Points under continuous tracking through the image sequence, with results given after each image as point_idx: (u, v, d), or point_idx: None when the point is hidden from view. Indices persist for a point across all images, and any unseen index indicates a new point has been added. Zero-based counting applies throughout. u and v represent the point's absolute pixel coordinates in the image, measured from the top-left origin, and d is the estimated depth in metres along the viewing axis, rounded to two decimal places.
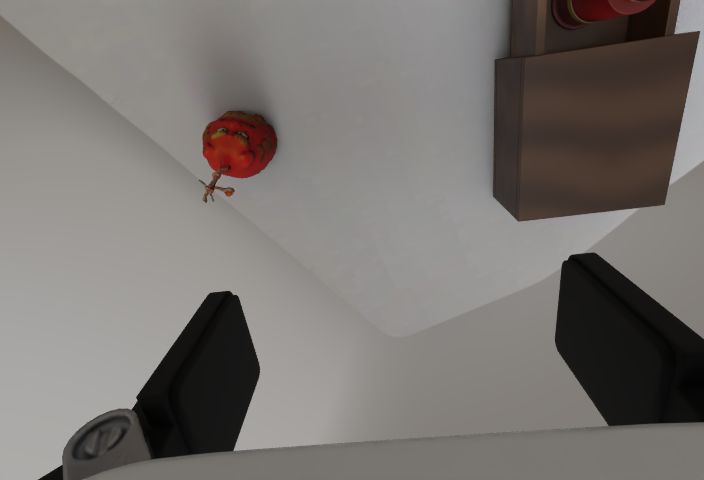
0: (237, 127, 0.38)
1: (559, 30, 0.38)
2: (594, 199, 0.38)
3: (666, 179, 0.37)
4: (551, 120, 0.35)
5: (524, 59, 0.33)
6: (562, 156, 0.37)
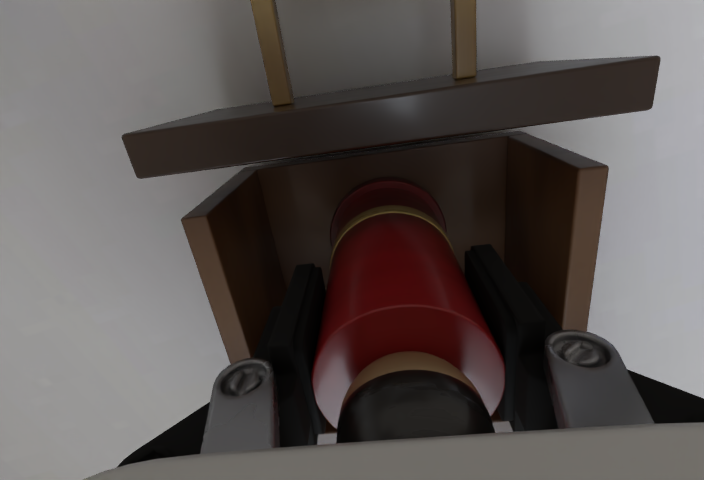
0: None
1: None
2: None
3: None
4: None
5: None
6: None
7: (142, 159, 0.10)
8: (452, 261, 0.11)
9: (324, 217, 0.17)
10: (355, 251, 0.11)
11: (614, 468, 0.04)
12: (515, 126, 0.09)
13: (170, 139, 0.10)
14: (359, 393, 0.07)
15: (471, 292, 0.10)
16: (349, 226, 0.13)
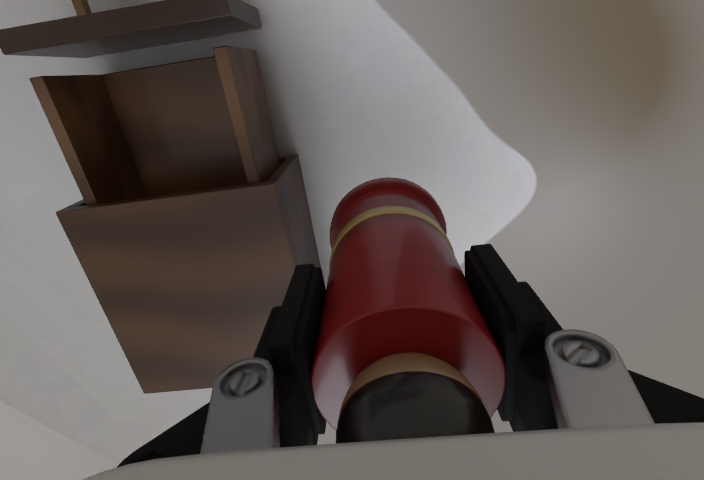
0: None
1: (178, 150, 0.29)
2: None
3: None
4: (128, 285, 0.26)
5: (57, 215, 0.24)
6: (163, 324, 0.27)
7: (4, 43, 0.21)
8: (452, 262, 0.11)
9: (147, 106, 0.28)
10: (355, 252, 0.11)
11: (614, 468, 0.04)
12: (172, 24, 0.20)
13: (15, 32, 0.21)
14: (359, 395, 0.07)
15: (471, 293, 0.10)
16: (349, 227, 0.13)
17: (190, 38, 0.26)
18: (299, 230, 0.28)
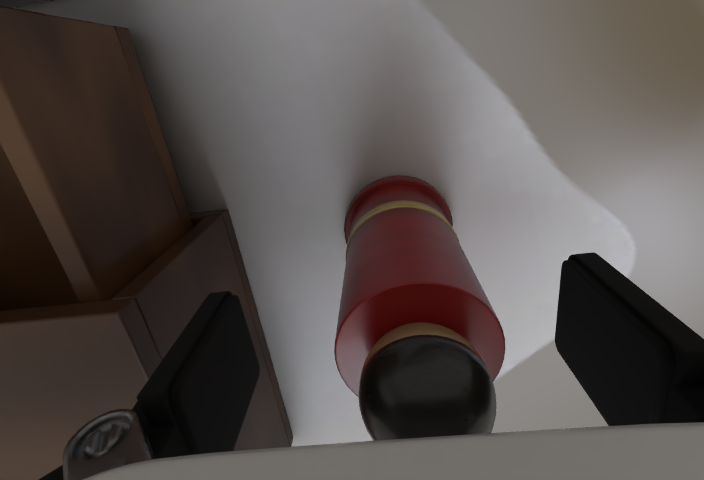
0: None
1: (10, 207, 0.16)
2: None
3: None
4: None
5: None
6: None
7: None
8: (458, 249, 0.12)
9: None
10: (371, 240, 0.12)
11: (613, 468, 0.04)
12: None
13: None
14: (379, 354, 0.08)
15: (475, 276, 0.11)
16: (364, 219, 0.14)
17: None
18: None
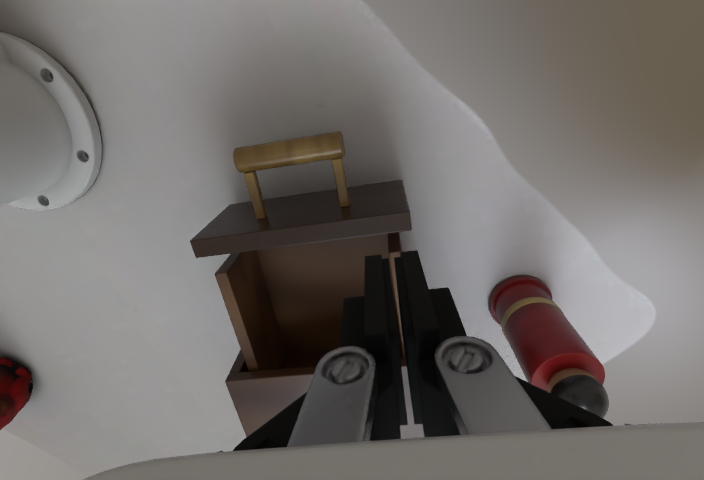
0: None
1: (315, 297, 0.31)
2: None
3: None
4: None
5: None
6: None
7: (198, 250, 0.23)
8: (574, 329, 0.26)
9: (291, 262, 0.29)
10: (532, 324, 0.26)
11: (614, 468, 0.04)
12: (356, 237, 0.22)
13: (210, 242, 0.23)
14: (561, 382, 0.22)
15: (585, 343, 0.25)
16: (516, 307, 0.28)
17: None
18: None
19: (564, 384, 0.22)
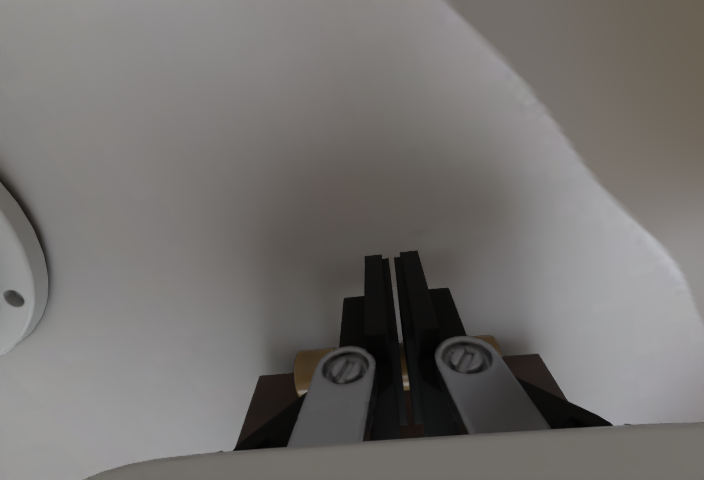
0: None
1: None
2: None
3: None
4: None
5: None
6: None
7: None
8: None
9: None
10: None
11: (614, 468, 0.04)
12: None
13: None
14: None
15: None
16: None
17: None
18: None
19: None
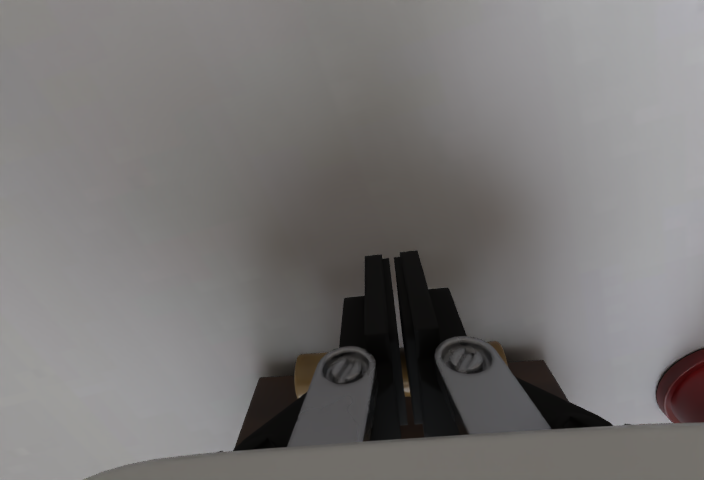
0: None
1: None
2: None
3: None
4: None
5: None
6: None
7: None
8: None
9: None
10: None
11: (614, 468, 0.04)
12: None
13: None
14: None
15: None
16: None
17: None
18: None
19: None
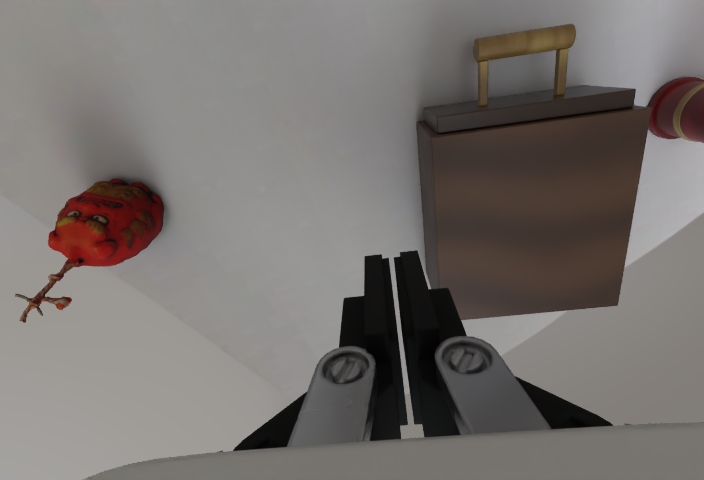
0: (92, 210, 0.31)
1: None
2: (531, 298, 0.31)
3: (618, 277, 0.30)
4: (471, 210, 0.28)
5: (431, 140, 0.26)
6: (488, 251, 0.29)
7: (442, 126, 0.27)
8: None
9: None
10: None
11: (613, 468, 0.04)
12: (584, 113, 0.26)
13: (455, 118, 0.26)
14: None
15: None
16: (696, 89, 0.29)
17: None
18: None
19: None
